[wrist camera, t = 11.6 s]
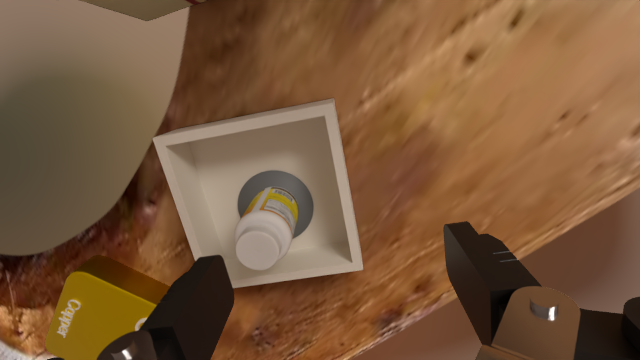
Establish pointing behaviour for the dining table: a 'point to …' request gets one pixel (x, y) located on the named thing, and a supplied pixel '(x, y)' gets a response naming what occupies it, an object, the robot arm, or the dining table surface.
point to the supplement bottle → (266, 228)
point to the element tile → (100, 308)
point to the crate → (259, 173)
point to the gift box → (144, 7)
